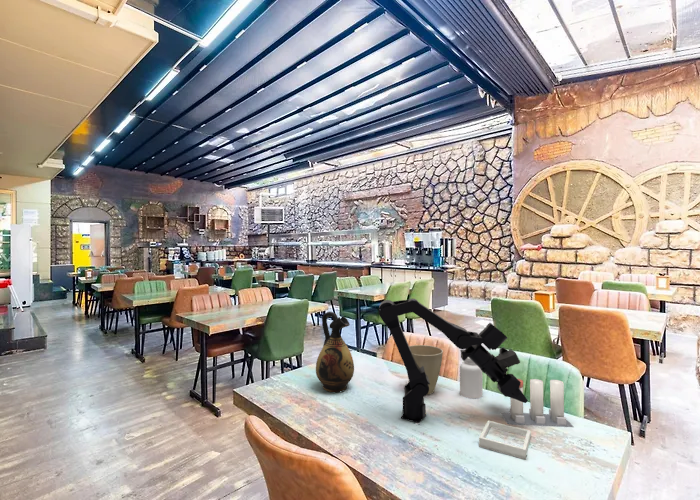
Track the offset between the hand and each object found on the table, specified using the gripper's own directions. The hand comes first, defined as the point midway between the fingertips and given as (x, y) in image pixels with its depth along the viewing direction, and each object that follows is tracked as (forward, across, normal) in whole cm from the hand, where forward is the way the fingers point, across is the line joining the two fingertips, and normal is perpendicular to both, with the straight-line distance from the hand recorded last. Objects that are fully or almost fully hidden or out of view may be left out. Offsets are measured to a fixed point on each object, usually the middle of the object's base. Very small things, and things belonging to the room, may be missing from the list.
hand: (521, 395), depth 111 cm
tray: (0, -13, +12) cm, 18 cm away
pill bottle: (-2, +18, +14) cm, 23 cm away
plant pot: (-14, +22, +26) cm, 37 cm away
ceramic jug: (-39, +23, +51) cm, 68 cm away
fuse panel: (+9, 0, +3) cm, 9 cm away
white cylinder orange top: (+4, 0, +6) cm, 7 cm away
